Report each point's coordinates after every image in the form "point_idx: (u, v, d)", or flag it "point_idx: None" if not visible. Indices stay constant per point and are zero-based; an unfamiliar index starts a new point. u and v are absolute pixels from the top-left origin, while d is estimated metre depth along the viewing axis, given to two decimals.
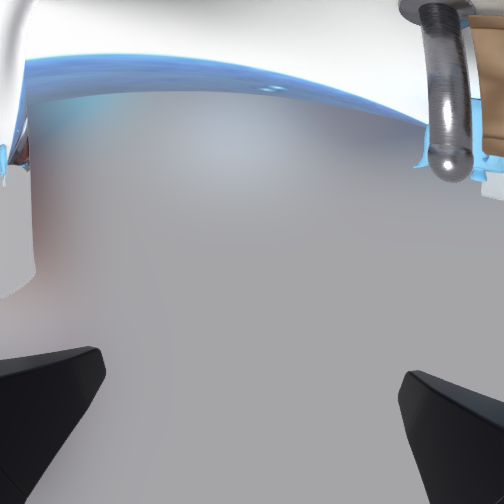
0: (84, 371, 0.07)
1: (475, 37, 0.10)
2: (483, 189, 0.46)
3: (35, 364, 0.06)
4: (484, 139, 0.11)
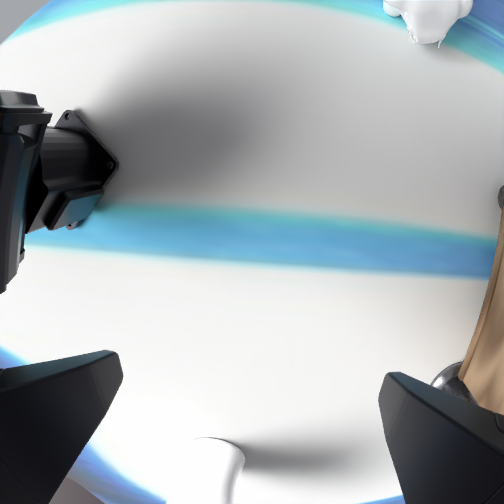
0: (102, 376, 0.07)
1: (466, 383, 0.18)
2: None
3: (53, 371, 0.05)
4: None
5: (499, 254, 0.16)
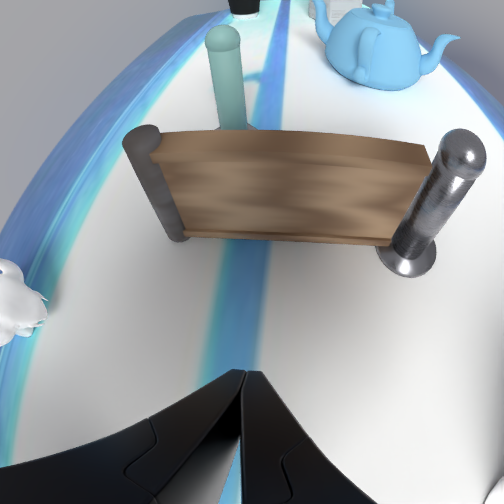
0: None
1: (391, 233, 0.19)
2: None
3: (213, 407, 0.05)
4: (426, 174, 0.13)
5: (231, 234, 0.20)
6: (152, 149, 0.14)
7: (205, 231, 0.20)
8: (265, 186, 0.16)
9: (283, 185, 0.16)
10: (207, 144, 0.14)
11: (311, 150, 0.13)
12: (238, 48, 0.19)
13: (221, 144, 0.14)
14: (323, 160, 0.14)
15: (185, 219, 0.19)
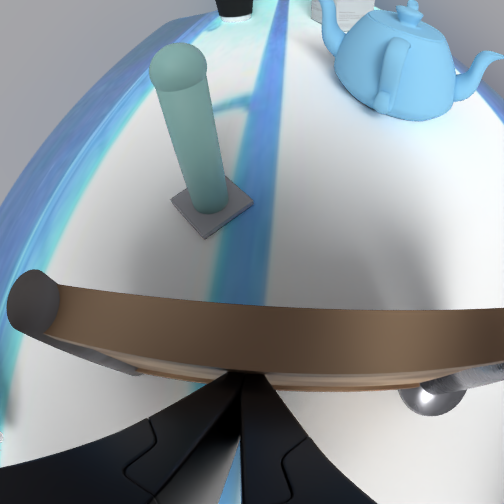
0: None
1: (421, 381, 0.12)
2: None
3: (213, 407, 0.05)
4: None
5: (199, 382, 0.13)
6: (47, 324, 0.07)
7: (164, 374, 0.13)
8: None
9: (269, 374, 0.09)
10: (126, 333, 0.07)
11: (322, 364, 0.07)
12: (203, 81, 0.12)
13: (148, 339, 0.07)
14: (342, 376, 0.07)
15: (135, 365, 0.13)
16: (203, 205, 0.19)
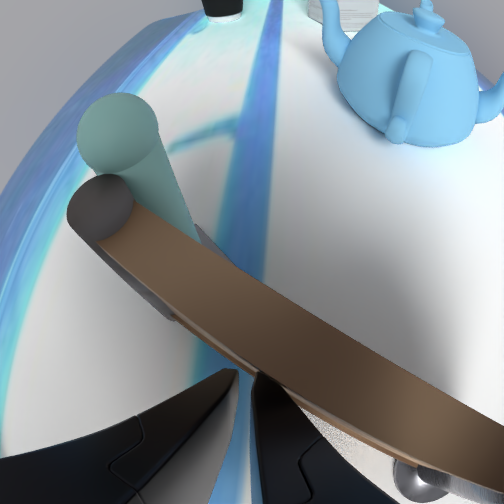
0: (232, 399, 0.07)
1: (421, 464, 0.09)
2: None
3: (201, 406, 0.05)
4: None
5: None
6: (104, 235, 0.08)
7: (196, 333, 0.14)
8: None
9: None
10: (181, 285, 0.07)
11: (358, 416, 0.05)
12: (154, 152, 0.09)
13: (201, 302, 0.07)
14: (368, 435, 0.05)
15: (173, 310, 0.13)
16: None
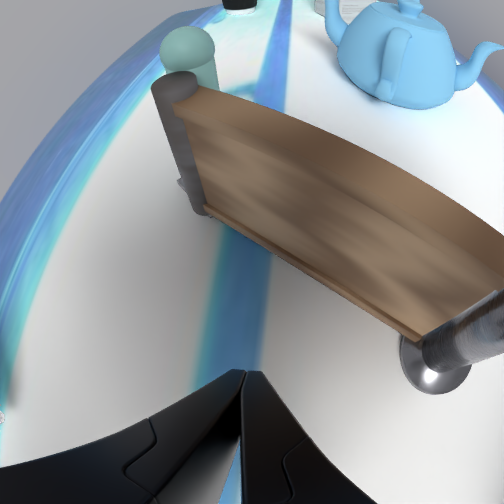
0: None
1: (424, 331, 0.13)
2: None
3: (213, 407, 0.05)
4: (496, 288, 0.07)
5: (248, 233, 0.17)
6: (178, 100, 0.11)
7: (224, 216, 0.17)
8: (289, 197, 0.12)
9: (310, 206, 0.12)
10: (233, 115, 0.11)
11: (352, 175, 0.09)
12: (211, 62, 0.12)
13: (247, 121, 0.10)
14: (363, 197, 0.09)
15: (207, 193, 0.17)
16: None
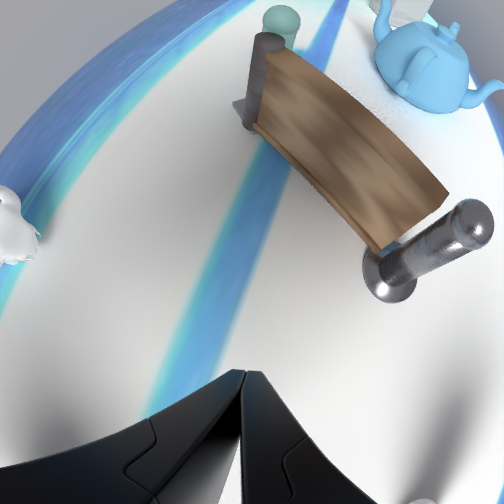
0: None
1: (383, 244, 0.20)
2: None
3: (213, 407, 0.05)
4: (431, 210, 0.15)
5: (280, 149, 0.23)
6: (270, 51, 0.17)
7: (267, 133, 0.23)
8: (321, 129, 0.18)
9: (332, 137, 0.18)
10: (304, 72, 0.16)
11: (363, 124, 0.15)
12: (294, 34, 0.17)
13: (312, 78, 0.16)
14: (365, 137, 0.15)
15: (260, 115, 0.22)
16: None
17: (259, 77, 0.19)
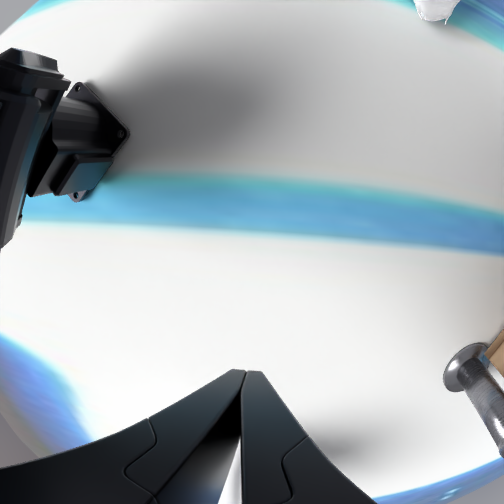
0: None
1: (493, 361, 0.17)
2: None
3: (213, 407, 0.05)
4: None
5: None
6: None
7: None
8: None
9: None
10: None
11: None
12: None
13: None
14: None
15: None
16: None
17: None
